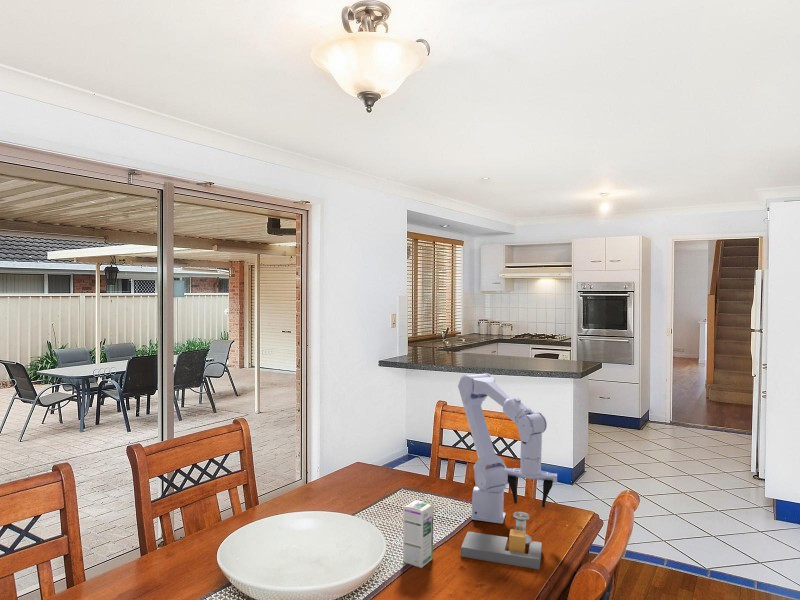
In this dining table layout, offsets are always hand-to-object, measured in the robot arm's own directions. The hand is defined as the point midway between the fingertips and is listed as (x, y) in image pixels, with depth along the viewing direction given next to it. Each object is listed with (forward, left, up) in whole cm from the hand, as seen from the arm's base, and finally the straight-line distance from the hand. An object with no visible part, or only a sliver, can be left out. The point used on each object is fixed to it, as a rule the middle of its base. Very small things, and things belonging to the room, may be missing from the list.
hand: (529, 504), depth 160 cm
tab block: (-2, -12, -10) cm, 16 cm away
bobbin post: (-2, -3, -9) cm, 10 cm away
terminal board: (-6, -13, -9) cm, 17 cm away
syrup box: (-26, -24, -10) cm, 37 cm away
